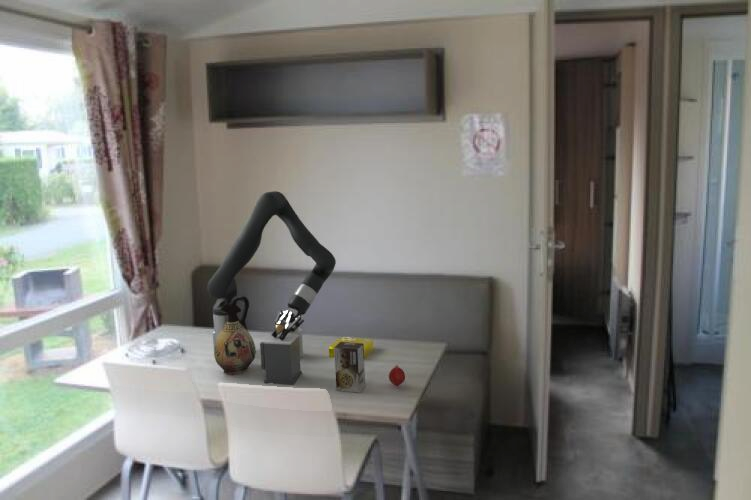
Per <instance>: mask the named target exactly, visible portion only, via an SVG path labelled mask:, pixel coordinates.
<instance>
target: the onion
mask: <svg viewBox="0 0 751 500" xmlns="http://www.w3.org/2000/svg"><path fill="white" fill-rule="evenodd" d="M388 380H389V382H390V383H391V384H393V385H394V386H395V387H396V386H398V387H400V386H401V385H402V384H403V383H404V382H405V380H406V373H405V371H404V370H403V369H402V368H401V367H399V365H397V364H396V365H395V366H394V367H392V369H391V370H390V371H389V373H388Z"/></svg>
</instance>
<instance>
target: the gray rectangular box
mask: <svg viewBox="0 0 751 500" xmlns="http://www.w3.org/2000/svg"><path fill="white" fill-rule="evenodd" d="M279 335H280V334H278V336H279ZM278 336H277V337H276V338H275V337H273V336H272V335H270V336H268V338H266V339H265V340H264V341H261V342H260V343H259V350H260V363H261V364H260V365H261V370H264V371H265V379H264V381H263V382H264V383H263V384H269V383H273V384H274V385H295V383H296V382H297V381H298V379H299V378H300V377H301V376H302V375H303V370H301V358H300V349H299V334H287V336H286V337H285V339H284V340H283V341H282V340H280V339H279V338H278Z"/></svg>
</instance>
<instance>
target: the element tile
mask: <svg viewBox="0 0 751 500" xmlns="http://www.w3.org/2000/svg"><path fill="white" fill-rule="evenodd" d="M340 342H350V343H363V345H364V359H365V358H367V356H369V355H370V353H371V352H373V351H374V339H371V338H361V337H360V338H359V337H350V336H342V337H339V338H338V339H337V340H336V341H334V342H333V343H331V345H329V346H328V357H330V358H332V359H333V358H334V359H335V356H334V347H335V346H337V344H339V343H340Z"/></svg>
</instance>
